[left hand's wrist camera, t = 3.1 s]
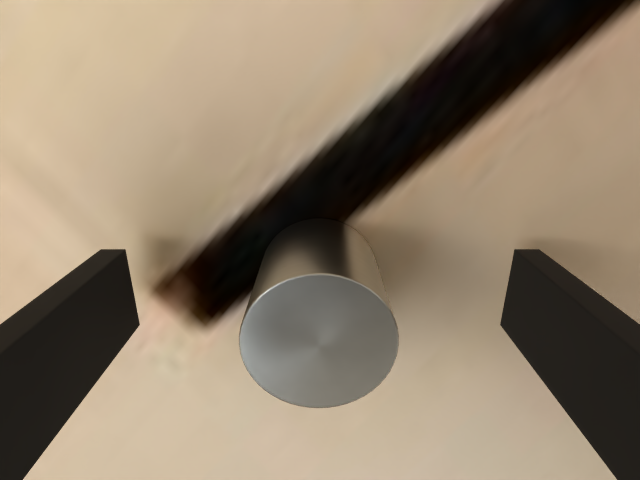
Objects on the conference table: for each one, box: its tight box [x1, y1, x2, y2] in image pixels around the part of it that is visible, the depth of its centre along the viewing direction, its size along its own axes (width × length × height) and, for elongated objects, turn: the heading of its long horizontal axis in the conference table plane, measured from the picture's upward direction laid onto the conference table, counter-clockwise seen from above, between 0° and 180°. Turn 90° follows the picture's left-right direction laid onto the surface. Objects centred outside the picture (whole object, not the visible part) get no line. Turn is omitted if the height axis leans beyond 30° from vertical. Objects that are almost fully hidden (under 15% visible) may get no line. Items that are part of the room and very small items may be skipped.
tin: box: [239, 218, 399, 408], centre depth 12 cm, size 4×4×4 cm
